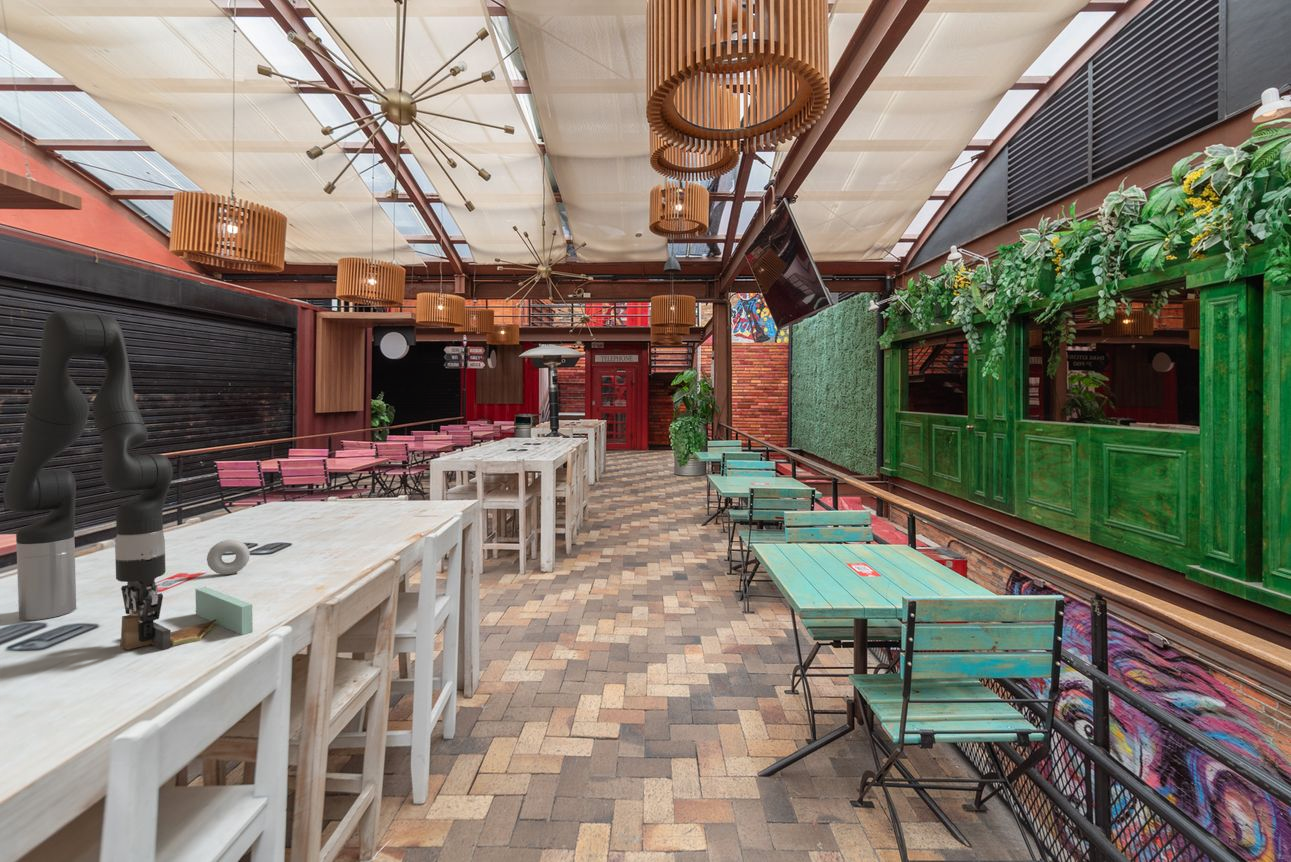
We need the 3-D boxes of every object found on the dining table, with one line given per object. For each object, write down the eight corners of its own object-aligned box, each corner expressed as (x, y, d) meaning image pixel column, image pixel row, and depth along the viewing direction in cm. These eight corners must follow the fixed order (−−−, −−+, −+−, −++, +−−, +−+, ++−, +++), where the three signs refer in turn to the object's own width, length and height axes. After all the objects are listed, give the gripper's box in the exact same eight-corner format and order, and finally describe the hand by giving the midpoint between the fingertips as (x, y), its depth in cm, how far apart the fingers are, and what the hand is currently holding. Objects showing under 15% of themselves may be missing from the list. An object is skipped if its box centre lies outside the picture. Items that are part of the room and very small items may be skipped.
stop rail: (196, 614, 133) (195, 588, 133) (206, 611, 135) (205, 586, 135) (242, 635, 122) (241, 607, 121) (252, 631, 123) (252, 604, 123)
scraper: (111, 640, 117) (112, 611, 117) (143, 633, 122) (144, 605, 122) (136, 655, 110) (138, 624, 110) (169, 647, 115) (171, 617, 115)
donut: (250, 570, 169) (249, 536, 169) (250, 573, 166) (249, 538, 166) (207, 575, 163) (206, 540, 163) (206, 578, 160) (206, 543, 160)
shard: (216, 625, 128) (216, 617, 128) (235, 632, 124) (235, 624, 124) (157, 643, 118) (156, 634, 118) (175, 651, 115) (175, 642, 115)
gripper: (103, 552, 116) (105, 637, 117) (130, 563, 109) (132, 653, 109) (149, 545, 122) (151, 625, 123) (178, 554, 115) (180, 639, 116)
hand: (142, 637), depth 116 cm, fingers closed on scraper, 3 cm apart
